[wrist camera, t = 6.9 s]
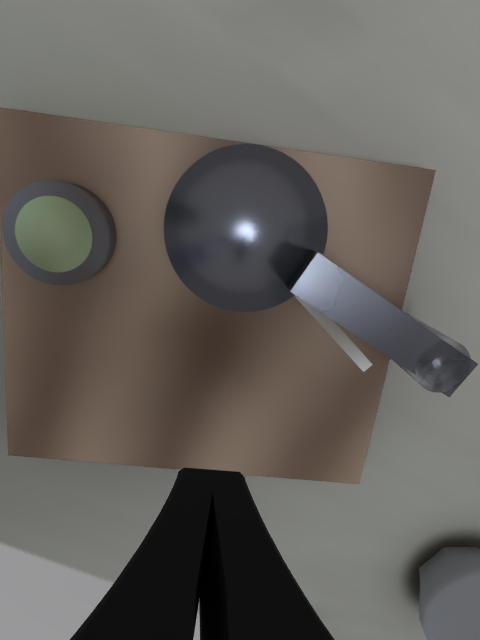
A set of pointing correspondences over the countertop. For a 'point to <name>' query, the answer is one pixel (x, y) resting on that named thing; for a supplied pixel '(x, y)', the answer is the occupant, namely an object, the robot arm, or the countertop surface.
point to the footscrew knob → (287, 257)
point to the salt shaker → (451, 594)
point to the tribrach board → (181, 311)
